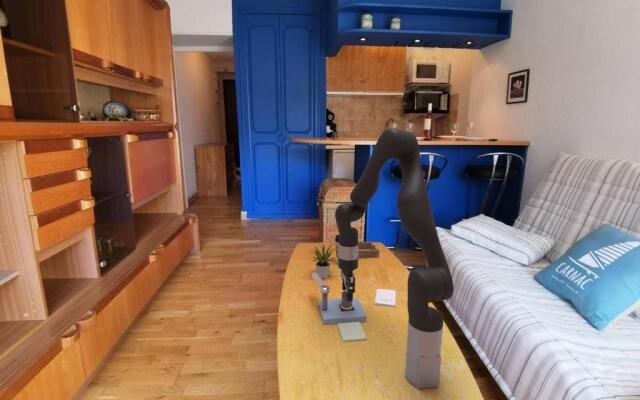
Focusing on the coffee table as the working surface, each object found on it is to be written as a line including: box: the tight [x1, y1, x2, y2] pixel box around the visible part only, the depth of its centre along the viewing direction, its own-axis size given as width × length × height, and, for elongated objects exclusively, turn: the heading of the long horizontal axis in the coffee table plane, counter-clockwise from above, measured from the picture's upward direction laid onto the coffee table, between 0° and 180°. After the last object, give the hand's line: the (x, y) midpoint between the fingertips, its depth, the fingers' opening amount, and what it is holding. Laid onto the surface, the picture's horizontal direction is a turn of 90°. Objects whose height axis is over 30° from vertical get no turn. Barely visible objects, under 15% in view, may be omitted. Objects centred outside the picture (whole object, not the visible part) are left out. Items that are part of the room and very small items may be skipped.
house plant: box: [311, 242, 336, 280], centre depth 164 cm, size 14×14×16 cm
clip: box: [311, 271, 331, 294], centre depth 137 cm, size 4×16×2 cm, turn 17°
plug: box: [341, 290, 353, 312], centre depth 133 cm, size 5×5×8 cm
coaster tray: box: [358, 241, 380, 259], centre depth 194 cm, size 14×14×4 cm
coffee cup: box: [334, 234, 339, 265], centre depth 179 cm, size 8×8×15 cm
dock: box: [317, 293, 368, 325], centre depth 133 cm, size 14×16×9 cm
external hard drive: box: [374, 288, 397, 308], centre depth 145 cm, size 2×8×12 cm
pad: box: [337, 322, 368, 343], centre depth 122 cm, size 10×8×1 cm
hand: (347, 295), depth 133 cm, fingers open, 8 cm apart
